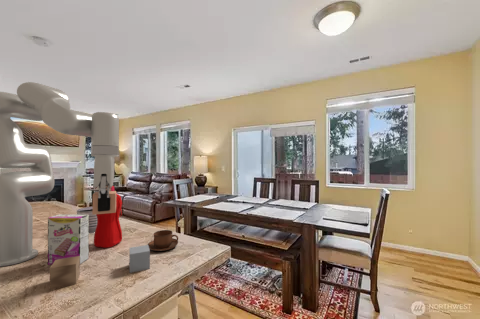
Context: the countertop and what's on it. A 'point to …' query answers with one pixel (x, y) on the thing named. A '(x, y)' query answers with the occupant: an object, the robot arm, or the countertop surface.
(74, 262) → the walnut block
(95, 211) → the terracotta block
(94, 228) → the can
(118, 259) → the countertop surface
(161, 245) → the cup and saucer
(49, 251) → the candy bar box
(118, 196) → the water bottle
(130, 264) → the slate grey block
